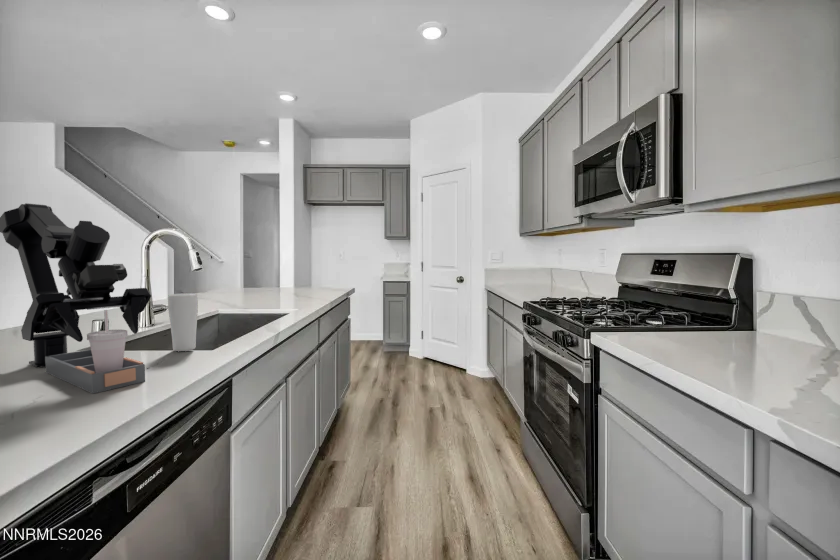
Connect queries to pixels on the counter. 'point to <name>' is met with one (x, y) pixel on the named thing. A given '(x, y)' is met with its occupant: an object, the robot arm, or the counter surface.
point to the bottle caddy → (93, 371)
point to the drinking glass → (183, 320)
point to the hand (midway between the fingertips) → (110, 336)
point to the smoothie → (107, 347)
